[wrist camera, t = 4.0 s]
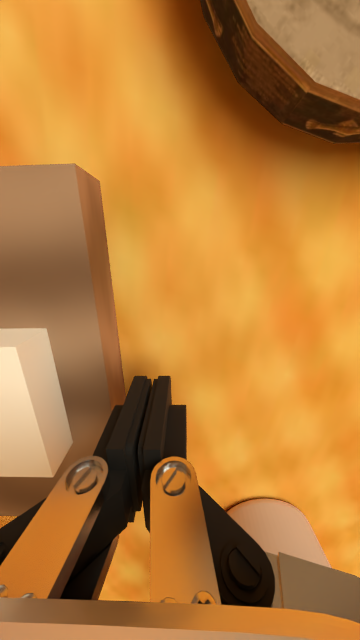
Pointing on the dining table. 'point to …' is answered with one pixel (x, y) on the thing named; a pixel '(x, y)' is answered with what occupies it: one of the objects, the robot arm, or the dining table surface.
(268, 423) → the dining table surface
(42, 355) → the cream foam board
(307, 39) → the wood slice coaster
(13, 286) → the panel
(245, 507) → the coffee cup
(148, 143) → the dining table surface
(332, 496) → the dining table surface
